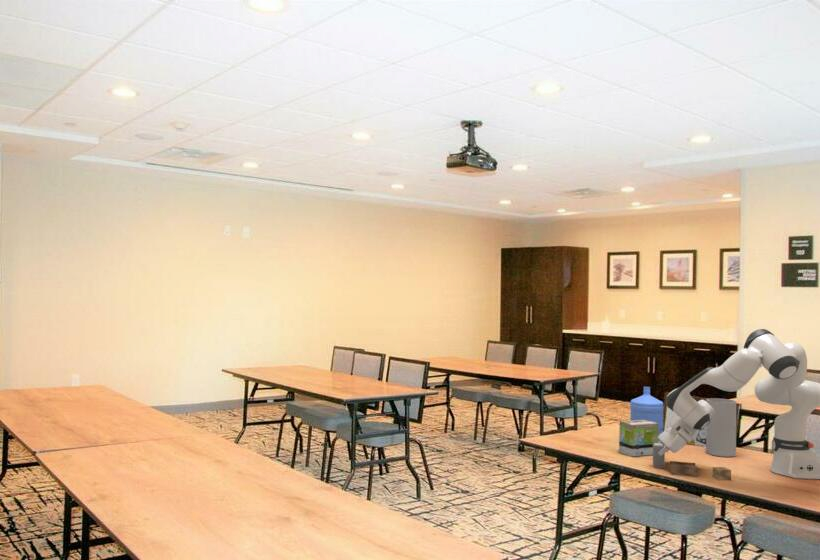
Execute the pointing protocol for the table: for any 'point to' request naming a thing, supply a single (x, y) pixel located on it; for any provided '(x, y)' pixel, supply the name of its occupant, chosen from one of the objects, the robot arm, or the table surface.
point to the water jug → (647, 409)
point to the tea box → (637, 437)
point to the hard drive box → (699, 438)
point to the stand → (683, 468)
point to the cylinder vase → (722, 428)
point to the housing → (658, 456)
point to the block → (721, 473)
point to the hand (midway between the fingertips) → (657, 452)
